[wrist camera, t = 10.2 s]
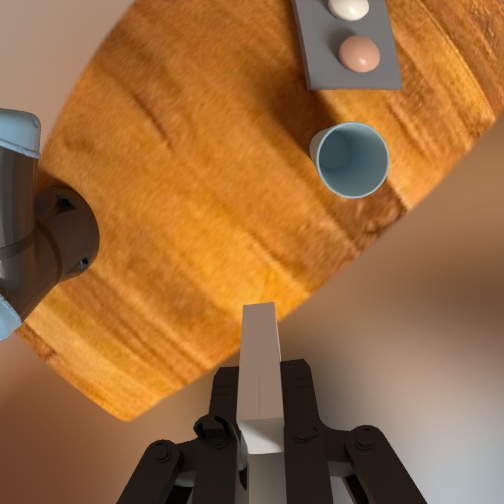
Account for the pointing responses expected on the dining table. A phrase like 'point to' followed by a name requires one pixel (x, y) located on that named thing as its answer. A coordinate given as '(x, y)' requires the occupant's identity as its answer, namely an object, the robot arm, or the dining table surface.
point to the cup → (350, 158)
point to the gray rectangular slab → (330, 38)
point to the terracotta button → (358, 54)
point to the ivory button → (348, 9)
